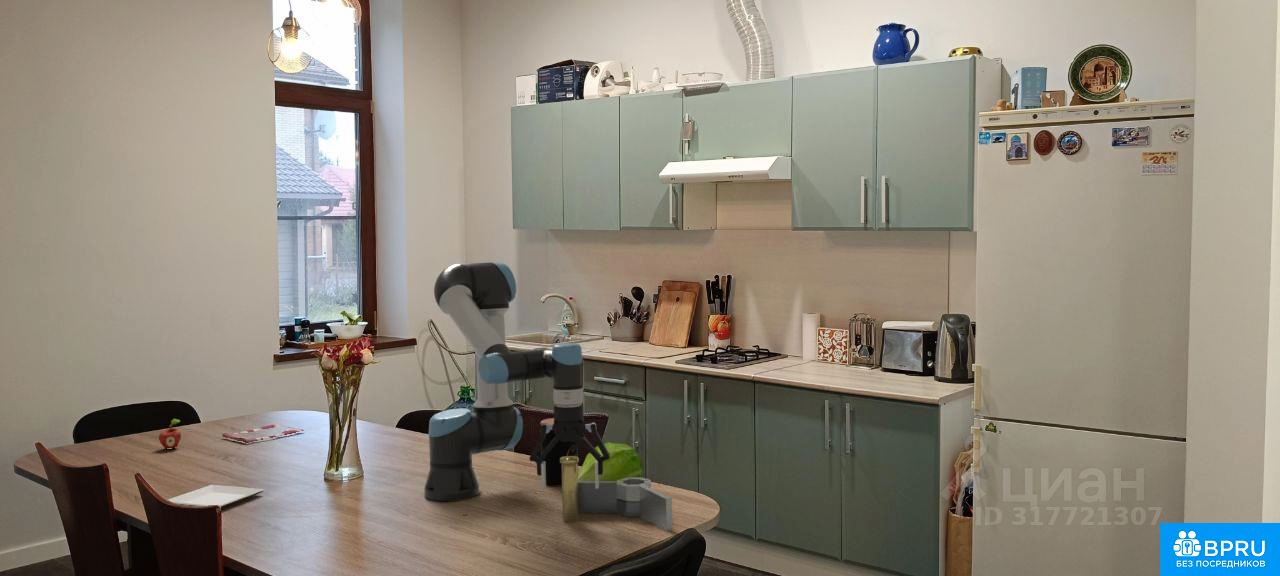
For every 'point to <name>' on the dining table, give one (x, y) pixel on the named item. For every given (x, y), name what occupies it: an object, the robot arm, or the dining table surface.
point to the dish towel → (260, 437)
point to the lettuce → (613, 464)
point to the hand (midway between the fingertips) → (570, 487)
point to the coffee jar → (556, 455)
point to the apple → (170, 436)
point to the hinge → (626, 500)
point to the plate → (216, 496)
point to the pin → (569, 488)
